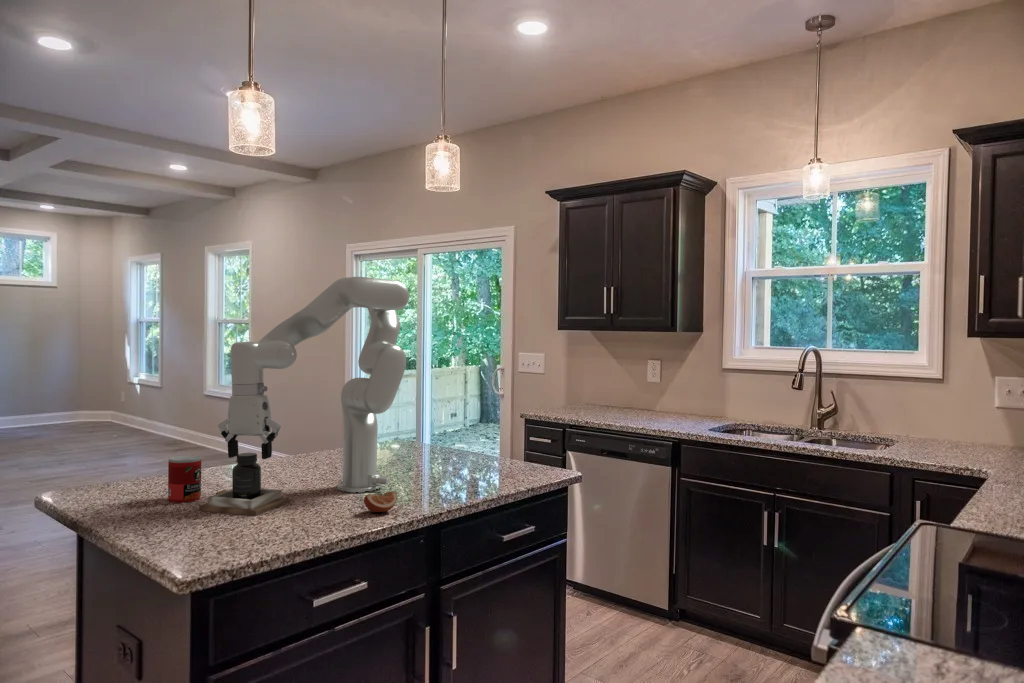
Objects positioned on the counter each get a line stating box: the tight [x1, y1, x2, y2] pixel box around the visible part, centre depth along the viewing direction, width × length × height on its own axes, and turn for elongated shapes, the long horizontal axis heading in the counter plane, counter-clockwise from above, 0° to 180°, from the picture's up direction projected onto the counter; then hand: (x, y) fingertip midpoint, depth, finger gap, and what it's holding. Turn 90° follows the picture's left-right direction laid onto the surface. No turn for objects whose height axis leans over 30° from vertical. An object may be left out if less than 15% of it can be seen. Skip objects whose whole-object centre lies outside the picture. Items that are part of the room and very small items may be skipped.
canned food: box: [167, 454, 202, 504], centre depth 174 cm, size 8×8×11 cm
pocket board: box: [198, 487, 290, 516], centre depth 169 cm, size 16×14×3 cm
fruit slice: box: [363, 490, 398, 513], centre depth 165 cm, size 8×7×5 cm
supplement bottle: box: [231, 452, 262, 500], centre depth 169 cm, size 7×7×12 cm
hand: (249, 457), depth 169 cm, fingers open, 9 cm apart
